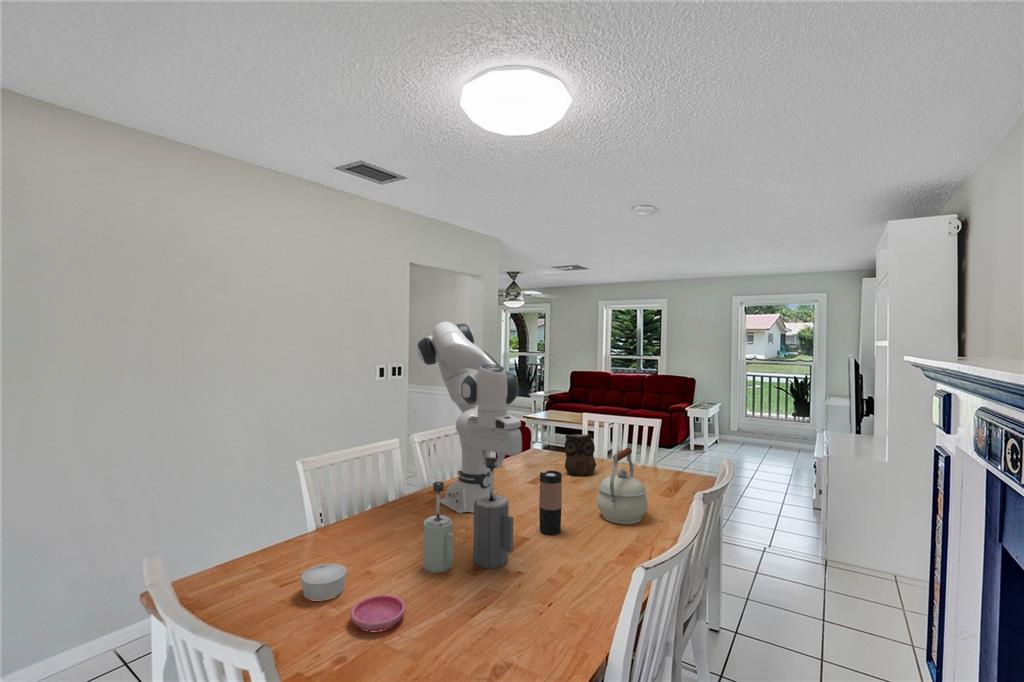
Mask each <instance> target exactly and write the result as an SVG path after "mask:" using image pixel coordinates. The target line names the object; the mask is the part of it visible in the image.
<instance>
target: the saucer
mask: <svg viewBox="0 0 1024 682" xmlns="http://www.w3.org/2000/svg"><path fill="white" fill-rule="evenodd" d="M405 613H406V603H405V602H404V600H403V599H402V598H400V597H397V596H395V595H391V594H377V595H372V596H369V597H366V598H363V599H361V600H359V601H358V602H356V603H355V604H354V605H353V606H352V608H351V610H350V619H351V621H352V623H354V625H355V626H357V627H358V628H359V627H360V628H361V629H364V630H368V631H379V630H384V629H388V628H390V627H392V626H393V625H395V624H396V623H398V622H400V620H401V619H402V618H403V616H404V615H405ZM396 625H397V624H396ZM396 625H395V626H396ZM393 627H394V626H393ZM393 627H392V628H393ZM360 628H359V629H360ZM361 629H360V630H361ZM390 629H391V628H390ZM388 630H389V629H388Z"/></svg>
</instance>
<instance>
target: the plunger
mask: <svg viewBox="0 0 1024 682" xmlns="http://www.w3.org/2000/svg"><path fill="white" fill-rule="evenodd" d="M497 459H498V457H494V456H493V457H492V456H490V457H489V458H486V467H487V468H490V501H494V495H495V494H494V492H495V486H494V485H495V479H494V478H495V469H497V467H495V466H494V465H495V464H494V461H497Z"/></svg>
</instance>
